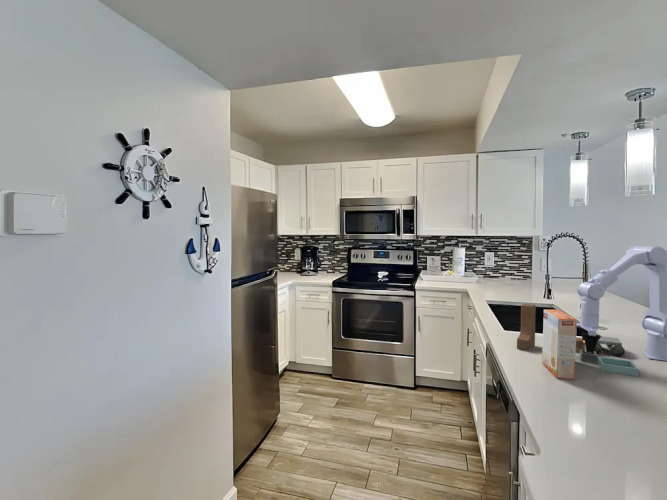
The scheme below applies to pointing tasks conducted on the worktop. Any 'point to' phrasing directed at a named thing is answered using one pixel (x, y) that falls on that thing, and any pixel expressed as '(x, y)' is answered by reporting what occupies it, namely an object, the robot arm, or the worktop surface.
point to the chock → (579, 345)
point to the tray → (617, 366)
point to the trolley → (610, 346)
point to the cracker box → (559, 343)
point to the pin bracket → (588, 357)
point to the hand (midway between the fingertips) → (588, 348)
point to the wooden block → (527, 327)
